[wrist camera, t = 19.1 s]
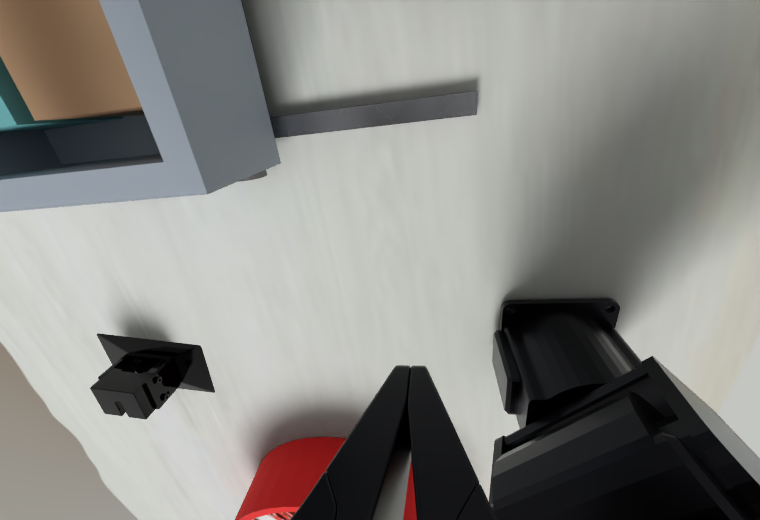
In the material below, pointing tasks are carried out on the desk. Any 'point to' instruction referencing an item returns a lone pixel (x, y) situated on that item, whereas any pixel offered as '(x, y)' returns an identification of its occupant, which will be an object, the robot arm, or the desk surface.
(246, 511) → the toy clock
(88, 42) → the tan cube
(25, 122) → the teal block
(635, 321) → the desk surface
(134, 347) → the black plastic bracket
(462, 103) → the rails
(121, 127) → the box
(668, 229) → the desk surface
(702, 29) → the desk surface
